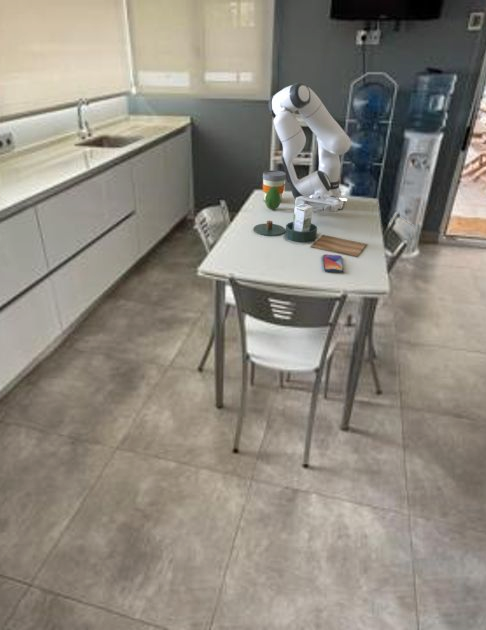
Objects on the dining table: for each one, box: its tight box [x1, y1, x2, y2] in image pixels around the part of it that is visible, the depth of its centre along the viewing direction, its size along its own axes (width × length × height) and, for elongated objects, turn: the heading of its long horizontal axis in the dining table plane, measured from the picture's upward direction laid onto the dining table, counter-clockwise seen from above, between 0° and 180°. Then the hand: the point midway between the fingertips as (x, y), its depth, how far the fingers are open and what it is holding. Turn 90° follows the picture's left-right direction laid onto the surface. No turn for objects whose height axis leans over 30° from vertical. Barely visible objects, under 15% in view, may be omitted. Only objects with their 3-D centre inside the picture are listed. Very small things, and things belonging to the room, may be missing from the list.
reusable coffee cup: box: [262, 169, 287, 202], centre depth 245 cm, size 13×13×15 cm
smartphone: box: [322, 253, 345, 273], centre depth 178 cm, size 7×15×1 cm, turn 171°
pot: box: [284, 221, 318, 244], centre depth 201 cm, size 14×14×5 cm
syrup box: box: [292, 204, 314, 232], centre depth 198 cm, size 6×6×14 cm
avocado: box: [264, 186, 281, 211], centre depth 233 cm, size 8×8×12 cm
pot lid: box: [252, 220, 286, 237], centre depth 207 cm, size 15×15×5 cm
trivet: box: [311, 234, 367, 258], centre depth 195 cm, size 15×20×1 cm
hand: (313, 207), depth 204 cm, fingers open, 8 cm apart
